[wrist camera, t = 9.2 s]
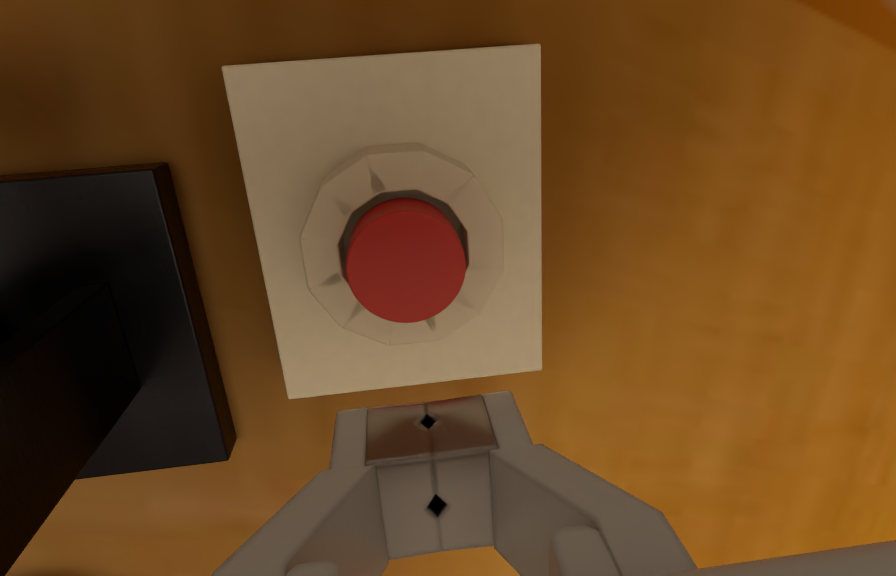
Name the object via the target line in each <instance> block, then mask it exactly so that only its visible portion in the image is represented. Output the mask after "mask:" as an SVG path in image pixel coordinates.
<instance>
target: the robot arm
mask: <svg viewBox="0 0 896 576" xmlns="http://www.w3.org/2000/svg"><path fill="white" fill-rule="evenodd" d="M486 546H494V548H495V549H496V550H497V551H498V552H499V553H500V554H501V555H502V557H503V558H504V559H505V560H506V561H507V562H508V563H509V564H510V565H511V566H512V567H513V568H514V569H515V570H516V571H517V572H518V573H519V574H520V575H521V576H896V540H893V541H886V542H879V543H872V544H866V545H859V546H852V547H845V548H838V549H831V550H824V551H818V552H811V553H804V554H797V555H790V556H784V557H777V558H770V559H763V560H756V561H749V562H742V563H735V564H728V565H721V566H714V567H708V568H701V569H698V568H697V566H696V565H695V563H694V562H693V560H692V559H691V557H690V555H689V554H688V552H687V551H686V549H685V547H684V546H683V544H682V543H681V541H680V540H679V538H678V536H677V535H676V533H675V532H674V530H673V528H672V527H671V525H670V524H669V522H668V521H667V519H666V517H665V516H664V514H663V513H662V512H661V511H659V510H657V509H655V508H654V507H652V506H650V505H648V504H647V503H645V502H643V501H641V500H640V499H638V498H636V497H634V496H632V495H631V494H629V493H627V492H625V491H624V490H622V489H620V488H618V487H617V486H615V485H613V484H611V483H610V482H608V481H606V480H604V479H603V478H601V477H599V476H597V475H595V474H594V473H592V472H590V471H588V470H587V469H585V468H583V467H581V466H580V465H578V464H576V463H574V462H573V461H571V460H569V459H567V458H566V457H564V456H562V455H560V454H558V453H557V452H555V451H553V450H551V449H550V448H548V447H546V446H544V445H543V444H536V445H533V443H532V441H531V438H530V436H529V433H528V431H527V428H526V426H525V423H524V421H523V419H522V416H521V414H520V411H519V409H518V406H517V404H516V402H515V399H514V397H513V394H512V392H510V391H509V390H508V391H502V392H495V393H489V394H482V395H476V396H469V397H462V398H455V399H448V400H441V401H434V402H427V403H425V402H419V403H409V404H398V405H388V406H378V407H369V408H366V407H365V408H357V409H349V410H341V411H339V412H338V413H337V415H336V422H335V429H334V437H333V444H332V452H331V459H330V467H329V470H327V471H321V472H319V473H318V474H317V475H316V476H315V477H314V478H313V479H312V480H311V481H310V482H309V483H308V484H307V485H305V486H304V487H303V488H302V489H301V490H300V491H299V492H298V493H297V494H296V495H295V496H294V497H293V498H292V499H291V500H290V501H289V502H287V503H286V504H285V505H284V506H283V507H282V508H281V509H280V510H279V511H278V512H277V513H276V514H275V515H274V516H273V517H272V518H270V519H269V520H268V521H267V522H266V523H265V524H264V525H263V526H262V527H261V528H260V529H259V530H258V531H257V532H256V533H255V534H254V535H252V536H251V537H250V538H249V539H248V540H247V541H246V542H245V543H244V544H243V545H242V546H241V547H240V548H239V549H238V550H237V551H235V552H234V553H233V554H232V555H231V556H230V557H229V558H228V559H227V560H226V561H225V562H224V563H223V564H222V565H221V566H220V567H219V568H217V569H216V570H215V571H214V572H213V574H212V576H381V575H382V574H383V572H384V570H385V569H386V567H387V565H388V563H389V562H388V560H392V559H398V558H404V557H410V556H416V555H422V554H428V553H434V552H440V551H449V550H458V549H468V548H477V547H486Z"/></svg>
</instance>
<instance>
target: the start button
mask: <svg viewBox="0 0 896 576" xmlns="http://www.w3.org/2000/svg"><path fill="white" fill-rule="evenodd" d="M465 272H466V259H465V253H464V250H463V247H462V245H461V242H460V240H459V238H458V235H457V233H456V231H455V229H454V227H453V225H452V223H451V222H450V220H449V219H448V218H447V216H446V215H445V214H444V213H443V212H442V211H441V210H439V209H438V208H436V207H435V206H433V205H432V204H430V203H428V202H425V201H422V200H419V199H415V198H394V199H390V200H386V201H383V202H381V203H379V204H377V205H375V206H374V207H372V208H371V209H369V210H368V211H367V212H366V213H365V214H364V215H363V216H362V217H361V218H360V219H359V221H358V222H357V224H356V225H355V227H354V229H353V232H352V234H351V237H350V242H349V248H348V254H347V259H346V275H347V279H348V283H349V286H350V289H351V290H352V292H353V294H354V296H355V297H356V299H357V300H358V301H359V303H360V304H361V305H362V306H363V307H364V308H366V309H367V310H368V311H369V312H371V313H372V314H374V315H376V316H378V317H380V318H382V319H385V320H388V321H392V322H398V323H413V322H419V321H422V320H426V319H428V318H431V317H433V316H435V315H437V314H438V313H440V312H441V311H443V310H444V309H445V308H447V307H448V306H449V305H450V304H451V303H452V301H453V300H454V299H455V298H456V296H457V295H458V293H459V291H460V289H461V287H462V285H463V281H464V278H465Z"/></svg>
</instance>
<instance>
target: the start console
mask: <svg viewBox="0 0 896 576" xmlns="http://www.w3.org/2000/svg"><path fill="white" fill-rule="evenodd" d="M222 73H223V78H224V83H225V88H226V93H227V98H228V103H229V108H230V113H231V118H232V123H233V128H234V133H235V138H236V143H237V148H238V152H239V157H240V162H241V167H242V172H243V177H244V182H245V187H246V192H247V197H248V202H249V207H250V212H251V217H252V222H253V227H254V232H255V237H256V242H257V247H258V252H259V257H260V262H261V267H262V272H263V277H264V282H265V287H266V291H267V296H268V301H269V306H270V311H271V316H272V321H273V326H274V331H275V336H276V341H277V346H278V351H279V356H280V361H281V366H282V371H283V376H284V381H285V386H286V391H287V396H288V399H296V398H305V397H314V396H322V395H331V394H339V393H348V392H357V391H365V390H374V389H383V388H391V387H400V386H408V385H417V384H426V383H434V382H443V381H452V380H460V379H469V378H477V377H486V376H495V375H503V374H512V373H521V372H529V371H538V370H542V219H541V45H540V44H525V45H511V46H496V47H482V48H468V49H454V50H439V51H425V52H411V53H397V54H383V55H368V56H354V57H340V58H326V59H312V60H297V61H283V62H269V63H255V64H240V65H226V66H222ZM394 198H415V199H419V200H422V201H425V202H428V203H430V204H432V205H433V206H435V207H436V208H438V209H439V210H441V211H442V212H443V213H444V214H445V215H446V216H447V218H448V219H449V220H450V222H451V223H452V225H453V227H454V229H455V231H456V233H457V235H458V238H459V240H460V242H461V245H462V247H463V250H464V253H465V259H466V272H465V278H464V281H463V285H462V287H461V289H460V291H459V293H458V295H457V296H456V298H455V299H454V300H453V301H452V303H451V304H450V305H449V306H448V307H447V308H445V309H444V310H443V311H441V312H440V313H438V314H437V315H435V316H433V317H431V318H428V319H426V320H422V321H419V322H413V323H398V322H392V321H388V320H385V319H382V318H380V317H378V316H376V315H374V314H372V313H371V312H369V311H368V310H367V309H366V308H364V307H363V306H362V305H361V304H360V303H359V301H358V300H357V299H356V297H355V296H354V294H353V292H352V290H351V289H350V286H349V283H348V279H347V275H346V259H347V254H348V248H349V242H350V237H351V234H352V232H353V229H354V227H355V225H356V224H357V222H358V221H359V219H360V218H361V217H362V216H363V215H364V214H365V213H366V212H367V211H368V210H369V209H371V208H372V207H374V206H375V205H377V204H379V203H381V202H383V201H386V200H390V199H394Z"/></svg>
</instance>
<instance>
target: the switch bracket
mask: <svg viewBox="0 0 896 576" xmlns="http://www.w3.org/2000/svg"><path fill="white" fill-rule="evenodd" d="M235 442H236V435H235V431H234V427H233V423H232V419H231V415H230V411H229V407H228V403H227V399H226V395H225V391H224V387H223V383H222V379H221V375H220V371H219V367H218V362H217V358H216V354H215V350H214V346H213V342H212V338H211V334H210V330H209V326H208V322H207V318H206V314H205V310H204V306H203V302H202V298H201V294H200V290H199V286H198V282H197V278H196V274H195V270H194V266H193V262H192V258H191V254H190V250H189V246H188V242H187V238H186V234H185V230H184V226H183V222H182V218H181V214H180V210H179V206H178V202H177V198H176V194H175V190H174V186H173V182H172V178H171V174H170V170H169V166H168V164H167V163H166V162H162V163H149V164H137V165H125V166H113V167H101V168H89V169H77V170H65V171H53V172H40V173H28V174H16V175H4V176H0V576H5V575H6V573H7V572H8V571H9V569H10V568H11V567H12V565H13V564H14V562H15V561H16V560H17V558H18V557H19V556H20V554H21V553H22V551H23V550H24V549H25V547H26V546H27V545H28V543H29V542H30V541H31V539H32V538H33V536H34V535H35V534H36V532H37V531H38V530H39V528H40V527H41V525H42V524H43V523H44V521H45V520H46V519H47V517H48V516H49V514H50V513H51V512H52V510H53V509H54V508H55V506H56V505H57V503H58V502H59V501H60V499H61V498H62V497H63V495H64V494H65V492H66V491H67V490H68V488H69V487H70V486H71V484H72V483H73V481H74V480H75V479H83V478H91V477H99V476H108V475H116V474H124V473H132V472H140V471H148V470H156V469H164V468H172V467H181V466H189V465H197V464H205V463H213V462H221V461H227V460H229V458H230V455H231V452H232V450H233V447H234V444H235Z"/></svg>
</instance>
